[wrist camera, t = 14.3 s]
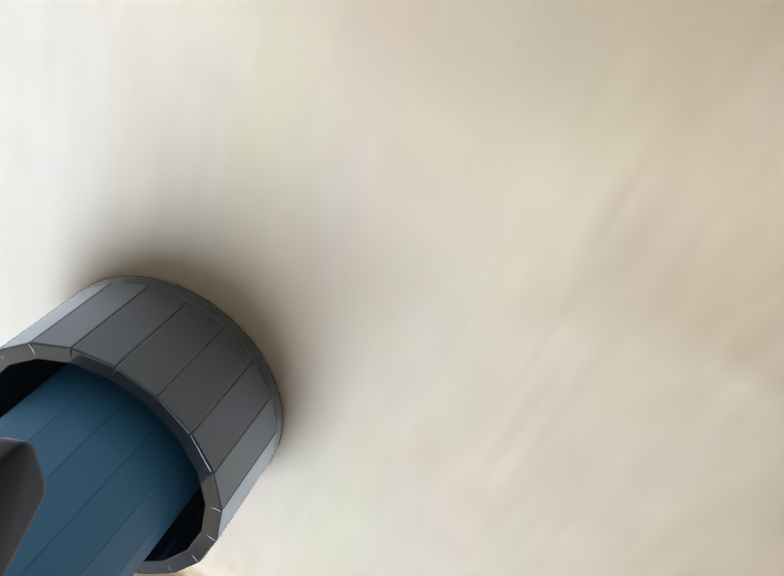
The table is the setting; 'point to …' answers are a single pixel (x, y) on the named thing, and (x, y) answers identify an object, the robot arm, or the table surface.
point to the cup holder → (165, 390)
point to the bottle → (97, 477)
